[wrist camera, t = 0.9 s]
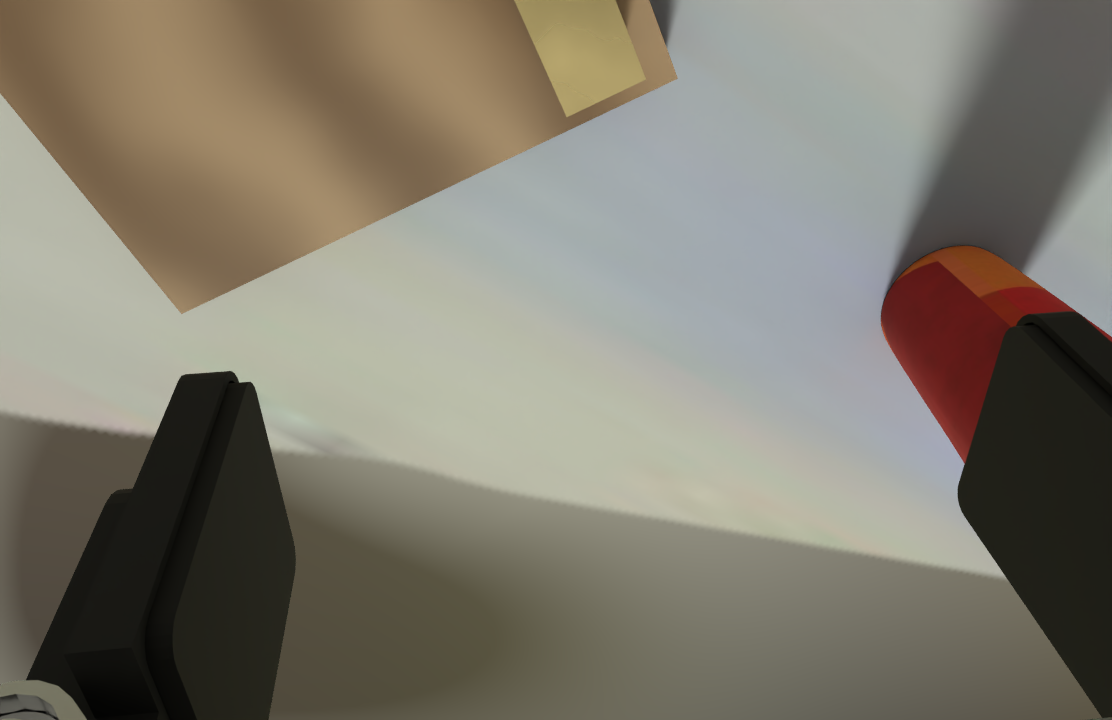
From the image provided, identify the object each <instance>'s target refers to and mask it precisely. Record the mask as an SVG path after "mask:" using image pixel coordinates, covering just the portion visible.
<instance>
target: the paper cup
mask: <svg viewBox="0 0 1112 720" xmlns="http://www.w3.org/2000/svg"><path fill="white" fill-rule="evenodd" d="M1062 311H1073V312H1076V311H1075V310H1074V309H1072V308H1071V307H1069V306H1068V305H1067V304H1065V303H1064V302H1062V301H1061V300H1060V299H1058V298H1057V297H1055V296H1054V295H1053V294H1051V293H1050V292H1048V291H1047V290H1046V289H1044V288H1043V287H1041V286H1040V285H1039V284H1037V283H1036V282H1034V281H1033V280H1031V279H1030V278H1029V277H1027V276H1026V275H1024V274H1023V273H1022V272H1020V271H1019V270H1017V269H1016V268H1014V267H1013V266H1011V265H1010V264H1008V263H1007V262H1005V261H1004V260H1003V259H1001V258H999V257H998V256H996V255H994V254H993V253H991V252H989V251H987V250H984V249H982V248H979V247H975V246H965V245H964V246H952V247H947V248H943V249H940V250H937V251H934V252H932V253H930V254H928V255H926V256H924V257H922V258H921V259H919V260H917V261H916V262H915V263H913V264H912V265H911V266H909V267H908V268H907V269H906V270H905V271H904V272H903V273H902V274H901V275H900V276H899V277H898V278H897V280H896V281H895V282H894V284H893V285H892V286H891V288H890V290H889V292H888V293H887V295H886V298H885V300H884V303H883V307H882V311H881V326H882V330H883V333H884V336H885V338H886V340H887V342H888V344H889V346H890V348H891V349H892V351H893V353H894V354H895V356H896V358H897V359H898V361H899V363H900V364H901V366H902V367H903V369H904V370H905V372H906V374H907V375H908V377H909V378H910V380H911V381H912V383H913V384H914V386H915V387H916V389H917V391H918V392H919V394H920V395H921V397H922V398H923V400H924V401H925V403H926V404H927V406H928V407H929V409H930V410H931V412H932V414H933V415H934V417H935V418H936V420H937V421H938V423H939V424H940V426H941V427H942V429H943V430H944V432H945V433H946V435H947V436H948V438H949V439H950V441H951V443H952V444H953V446H954V447H955V449H956V451H957V452H958V454H959V455H960V457H961V459H962V460H963V462H964V463H965V462H966V458H967V455H968V452H969V448H970V445H971V442H972V439H973V435H974V432H975V429H976V425H977V422H978V419H979V416H980V412H981V409H982V406H983V402H984V399H985V396H986V393H987V389H988V386H989V383H990V379H991V376H992V373H993V370H994V366H995V363H996V360H997V356H998V353H999V350H1000V347H1001V343H1002V340H1003V337H1004V335H1005V333H1006V331H1007V330H1008V329H1009V328H1011V327H1013V326H1016V324H1017V322H1018V321H1019V320H1020V319H1021V318H1022V316H1025V315H1027V314H1034V313H1048V312H1062ZM1077 313H1078V312H1077ZM1078 314H1079V313H1078ZM1084 318H1085V317H1084ZM1085 319H1086V318H1085ZM1086 320H1087V319H1086ZM1087 321H1088V322H1090V321H1089V320H1087ZM1090 323H1091V324H1092V325H1093V326H1094V327H1095V328H1096V329H1098V330H1099V331H1100V332H1101V333H1102V334H1103V335H1104V336H1105V337H1107V338H1108V339H1109V340H1110V341H1111V342H1112V337H1111V336H1110V335H1108V334H1107V333H1105V332H1104V331H1103V330H1101V329H1100V328H1099V327H1097V326H1096V325H1094V324H1093V323H1092V322H1090Z"/></svg>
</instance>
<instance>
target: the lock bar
mask: <svg viewBox="0 0 1112 720" xmlns="http://www.w3.org/2000/svg"><path fill="white" fill-rule="evenodd" d="M514 1H515V3H516V5H517V8H518V10H519V12H520V14H521V16H522V19H523V21H524V23H525V25H526V28H527V30H528V32H529V34H530V37H531V39H532V41H533V43H534V45H535V48H536V50H537V52H538V54H539V57H540V59H541V61H542V63H543V66H544V68H545V70H546V72H547V74H548V77H549V79H550V81H551V83H552V86H553V88H554V90H555V92H556V95H557V97H558V99H559V101H560V103H561V106H562V108H563V110H564V112H565V115H566V117H568V116H570V115H573V114H575V113H577V112H579V111H581V110H583V109H585V108H587V107H589V106H591V105H594V104H596V103H598V102H600V101H602V100H604V99H606V98H608V97H610V96H612V95H614V94H617V93H619V92H621V91H623V90H625V89H627V88H629V87H631V86H633V85H635V84H638V83H640V82H642V81H644V80H646V78H645V75H644V73H643V70H642V68H641V65H640V62H639V60H638V57H637V55H636V52H635V49H634V47H633V44H632V42H631V39H630V36H629V34H628V31H627V29H626V26H625V23H624V21H623V18H622V16H621V13H620V10H619V8H618V5H617V3H616V0H514Z"/></svg>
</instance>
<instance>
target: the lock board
mask: <svg viewBox="0 0 1112 720" xmlns="http://www.w3.org/2000/svg"><path fill="white" fill-rule="evenodd" d="M616 3H617V5H618V8H619V10H620V13H621V16H622V18H623V21H624V23H625V26H626V29H627V31H628V34H629V36H630V39H631V42H632V44H633V47H634V49H635V52H636V55H637V57H638V60H639V62H640V65H641V68H642V70H643V73H644V75H645V78H646V80H644V81H642V82H640V83H638V84H635V85H633V86H631V87H629V88H627V89H625V90H623V91H621V92H619V93H617V94H614V95H612V96H610V97H608V98H606V99H604V100H602V101H600V102H598V103H596V104H594V105H591V106H589V107H587V108H585V109H583V110H581V111H579V112H577V113H575V114H573V115H570V116H568V117H566V115H565V112H564V110H563V108H562V106H561V103H560V101H559V99H558V97H557V95H556V92H555V90H554V88H553V86H552V83H551V81H550V79H549V77H548V74H547V72H546V70H545V68H544V66H543V63H542V61H541V59H540V57H539V54H538V52H537V50H536V48H535V45H534V43H533V41H532V39H531V37H530V34H529V32H528V30H527V28H526V25H525V23H524V21H523V19H522V16H521V14H520V12H519V10H518V8H517V5H516V3H515V1H514V0H0V93H1V95H2V96H3V97H4V98H5V99H6V101H7V102H8V103H9V104H10V106H11V107H12V108H13V109H14V110H15V112H16V113H17V114H18V115H19V117H20V118H21V119H22V120H23V121H24V123H25V124H26V125H27V126H28V127H29V129H30V130H31V131H32V132H33V134H34V135H35V136H36V137H37V138H38V140H39V141H40V142H41V143H42V145H43V146H44V147H45V148H46V149H47V151H48V152H49V153H50V154H51V155H52V157H53V158H54V159H55V160H56V162H57V163H58V164H59V165H60V166H61V168H62V169H63V170H64V171H65V173H66V174H67V175H68V176H69V177H70V179H71V180H72V181H73V182H74V183H75V185H76V186H77V187H78V188H79V190H80V191H81V192H82V193H83V194H84V196H85V197H86V198H87V199H88V201H89V202H90V203H91V204H92V205H93V207H94V208H95V209H96V210H97V211H98V213H99V214H100V215H101V216H102V218H103V219H104V220H105V221H106V222H107V224H108V225H109V226H110V227H111V229H112V230H113V231H114V232H115V233H116V235H117V236H118V237H119V238H120V239H121V241H122V242H123V243H124V244H125V246H126V247H127V248H128V249H129V250H130V252H131V253H132V254H133V255H134V257H135V258H136V259H137V260H138V261H139V263H140V264H141V265H142V266H143V267H144V269H145V270H146V271H147V272H148V274H149V275H150V276H151V277H152V278H153V280H154V281H155V282H156V283H157V284H158V286H159V287H160V288H161V289H162V291H163V292H164V293H165V294H166V295H167V297H168V298H169V299H170V300H171V302H172V303H173V304H174V305H175V306H176V308H177V309H178V310H179V311H180V312H181V314H182V313H184V312H187V311H189V310H191V309H193V308H195V307H197V306H199V305H201V304H203V303H206V302H208V301H210V300H212V299H214V298H216V297H218V296H220V295H222V294H225V293H227V292H229V291H231V290H233V289H235V288H237V287H239V286H241V285H243V284H246V283H248V282H250V281H252V280H254V279H256V278H258V277H260V276H262V275H265V274H267V273H269V272H271V271H273V270H275V269H277V268H279V267H281V266H284V265H286V264H288V263H290V262H292V261H294V260H296V259H298V258H300V257H302V256H305V255H307V254H309V253H311V252H313V251H315V250H317V249H319V248H321V247H324V246H326V245H328V244H330V243H332V242H334V241H336V240H338V239H340V238H343V237H345V236H347V235H349V234H351V233H353V232H355V231H357V230H359V229H361V228H364V227H366V226H368V225H370V224H372V223H374V222H376V221H378V220H380V219H383V218H385V217H387V216H389V215H391V214H393V213H395V212H397V211H399V210H402V209H404V208H406V207H408V206H410V205H412V204H414V203H416V202H418V201H420V200H423V199H425V198H427V197H429V196H431V195H433V194H435V193H437V192H439V191H442V190H444V189H446V188H448V187H450V186H452V185H454V184H456V183H458V182H461V181H463V180H465V179H467V178H469V177H471V176H473V175H475V174H477V173H479V172H482V171H484V170H486V169H488V168H490V167H492V166H494V165H496V164H498V163H501V162H503V161H505V160H507V159H509V158H511V157H513V156H515V155H517V154H520V153H522V152H524V151H526V150H528V149H530V148H532V147H534V146H536V145H538V144H541V143H543V142H545V141H547V140H549V139H551V138H553V137H555V136H557V135H560V134H562V133H564V132H566V131H568V130H570V129H572V128H574V127H576V126H579V125H581V124H583V123H585V122H587V121H589V120H591V119H593V118H595V117H597V116H600V115H602V114H604V113H606V112H608V111H610V110H612V109H614V108H616V107H619V106H621V105H623V104H625V103H627V102H629V101H631V100H633V99H635V98H638V97H640V96H642V95H644V94H646V93H648V92H650V91H652V90H654V89H656V88H659V87H661V86H663V85H665V84H667V83H669V82H671V81H673V80H675V79H678V78H677V75H676V72H675V70H674V67H673V64H672V61H671V59H670V56H669V53H668V50H667V48H666V45H665V42H664V39H663V37H662V34H661V31H660V28H659V26H658V23H657V20H656V17H655V15H654V12H653V9H652V6H651V4H650V1H649V0H616Z"/></svg>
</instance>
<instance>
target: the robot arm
mask: <svg viewBox="0 0 1112 720" xmlns="http://www.w3.org/2000/svg"><path fill="white" fill-rule="evenodd" d="M958 501H959V505H960V508H961V511H962V513H963V514H964V516H965V518H966V519H967V520H968V522H969V523H970V525H971V526H972V528H973V529H974V531H975V532H976V534H977V535H978V537H979V538H980V540H981V541H982V542H983V544H984V545H985V547H986V548H987V550H988V551H989V553H990V554H991V556H992V557H993V559H994V560H995V561H996V563H997V564H998V566H999V567H1000V569H1001V570H1002V572H1003V573H1004V575H1005V576H1006V578H1007V579H1008V580H1009V582H1010V583H1011V585H1012V586H1013V588H1014V589H1015V591H1016V592H1017V594H1018V595H1019V597H1020V598H1021V600H1022V601H1023V602H1024V604H1025V605H1026V607H1027V608H1028V610H1029V611H1030V612H1031V614H1032V616H1033V617H1034V618H1035V620H1036V621H1037V623H1038V624H1039V626H1040V627H1041V629H1042V630H1043V631H1044V633H1045V635H1046V636H1047V638H1048V639H1049V640H1050V642H1051V643H1052V645H1053V646H1054V647H1055V649H1056V651H1057V652H1058V654H1059V655H1060V657H1061V658H1062V660H1063V661H1064V662H1065V664H1066V665H1067V667H1068V668H1069V670H1070V671H1071V673H1072V674H1073V676H1074V677H1075V679H1076V680H1077V681H1078V683H1079V684H1080V686H1081V687H1082V688H1083V690H1084V692H1085V693H1086V695H1087V696H1088V697H1089V699H1090V700H1091V702H1092V703H1093V705H1094V706H1095V708H1096V709H1097V711H1098V712H1099V714H1100V715H1101V717H1102V718H1099V719H1090V720H1112V342H1111V341H1110V340H1109V339H1108V338H1107V337H1105V336H1104V335H1103V334H1102V333H1101V332H1100V331H1099V330H1098V329H1096V328H1095V327H1094V326H1093V325H1092V324H1091V323H1090V322H1088V321H1087V320H1086V319H1085V318H1084V317H1083V316H1082V315H1080V314H1078V313H1077V312H1073V311H1062V312H1048V313H1034V314H1027V315H1025V316H1022V318H1021V319H1020V320H1019V321H1018V322H1017V324H1016V326H1013V327H1011V328H1009V329H1008V330H1007V331H1006V333H1005V335H1004V337H1003V340H1002V343H1001V347H1000V350H999V353H998V356H997V360H996V363H995V366H994V370H993V373H992V376H991V379H990V383H989V386H988V389H987V393H986V396H985V399H984V402H983V406H982V409H981V412H980V416H979V419H978V422H977V425H976V429H975V432H974V435H973V439H972V442H971V445H970V448H969V452H968V455H967V458H966V462H965V465H964V468H963V471H962V475H961V478H960V481H959V485H958ZM295 562H296V558H295V546H294V541H293V537H292V533H291V529H290V525H289V521H288V517H287V513H286V509H285V505H284V501H283V497H282V493H281V490H280V485H279V482H278V477H277V474H276V469H275V465H274V461H273V457H272V453H271V449H270V445H269V441H268V437H267V433H266V429H265V425H264V421H263V417H262V413H261V409H260V405H259V401H258V397H257V393H256V390H255V387H254V385H253V383H251V382H242V383H239V381H238V378H237V377H236V375H235V373H233V372H232V371H226V372H213V373H199V374H185V375H183V376H181V378H180V379H179V381H178V383H177V385H176V388H175V390H174V392H173V395H172V397H171V400H170V402H169V404H168V407H167V409H166V411H165V414H164V416H163V419H162V421H161V423H160V426H159V428H158V430H157V433H156V435H155V437H154V440H153V442H152V445H151V447H150V450H149V452H148V454H147V456H146V459H145V462H144V464H143V466H142V469H141V471H140V473H139V476H138V478H137V480H136V483H135V485H134V487H133V489H123V490H117V491H116V492H114V493H113V494H111V496H110V497H109V499H108V500H107V502H106V504H105V506H104V508H103V510H102V512H101V515H100V517H99V519H98V521H97V523H96V526H95V528H94V530H93V533H92V534H91V537H90V539H89V541H88V543H87V546H86V548H85V550H84V552H83V555H82V557H81V559H80V561H79V563H78V566H77V568H76V570H75V572H74V574H73V577H72V579H71V581H70V583H69V586H68V588H67V590H66V592H65V595H64V597H63V599H62V601H61V603H60V606H59V608H58V610H57V612H56V614H55V617H54V619H53V621H52V624H51V626H50V628H49V630H48V632H47V634H46V637H45V639H44V641H43V643H42V645H41V648H40V650H39V652H38V655H37V657H36V659H35V661H34V663H33V665H32V668H31V670H30V672H29V674H28V677H27V679H26V681H11V682H8V683H4V684H0V720H268V719H269V713H270V708H271V702H272V697H273V691H274V685H275V680H276V674H277V669H278V663H279V658H280V652H281V647H282V641H283V636H284V630H285V624H286V619H287V614H288V608H289V602H290V597H291V591H292V586H293V580H294V575H295V564H296V563H295Z"/></svg>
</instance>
